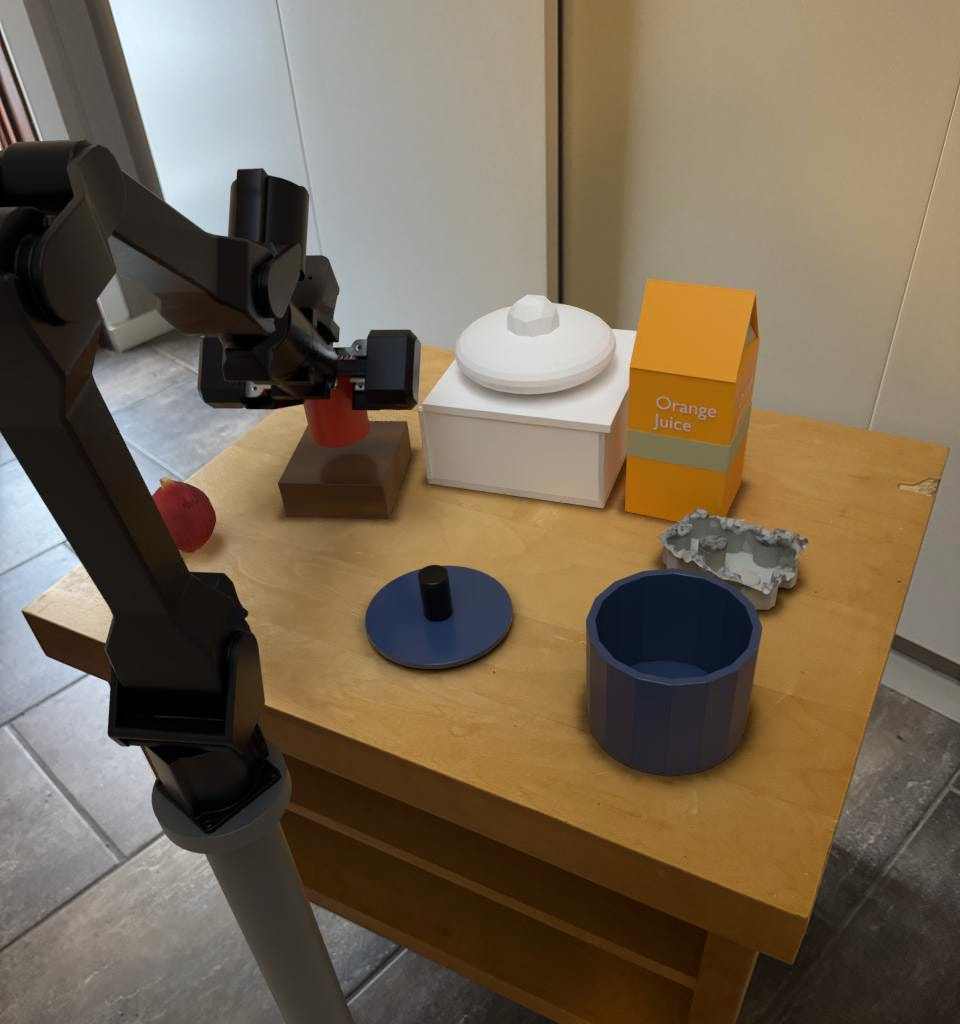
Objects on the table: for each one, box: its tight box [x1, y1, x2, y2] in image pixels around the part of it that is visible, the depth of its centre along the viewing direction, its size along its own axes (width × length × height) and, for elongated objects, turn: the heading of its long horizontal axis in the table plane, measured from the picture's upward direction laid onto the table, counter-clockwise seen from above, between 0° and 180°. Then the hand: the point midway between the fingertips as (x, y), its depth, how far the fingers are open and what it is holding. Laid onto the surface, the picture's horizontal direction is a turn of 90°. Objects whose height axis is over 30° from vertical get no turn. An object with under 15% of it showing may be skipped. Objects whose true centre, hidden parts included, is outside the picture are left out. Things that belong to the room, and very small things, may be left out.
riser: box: [277, 420, 413, 520], centre depth 93 cm, size 11×10×4 cm
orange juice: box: [624, 278, 761, 523], centre depth 82 cm, size 8×9×20 cm
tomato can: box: [302, 357, 370, 448], centre depth 88 cm, size 6×6×7 cm
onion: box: [152, 476, 217, 554], centre depth 86 cm, size 6×6×8 cm
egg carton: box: [656, 508, 809, 611], centre depth 79 cm, size 11×8×4 cm
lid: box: [364, 564, 514, 670], centre depth 77 cm, size 12×12×5 cm
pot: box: [585, 568, 763, 777], centre depth 67 cm, size 11×11×9 cm
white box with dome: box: [417, 293, 637, 509], centre depth 91 cm, size 18×18×16 cm
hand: (339, 397), depth 89 cm, fingers closed on tomato can, 5 cm apart
